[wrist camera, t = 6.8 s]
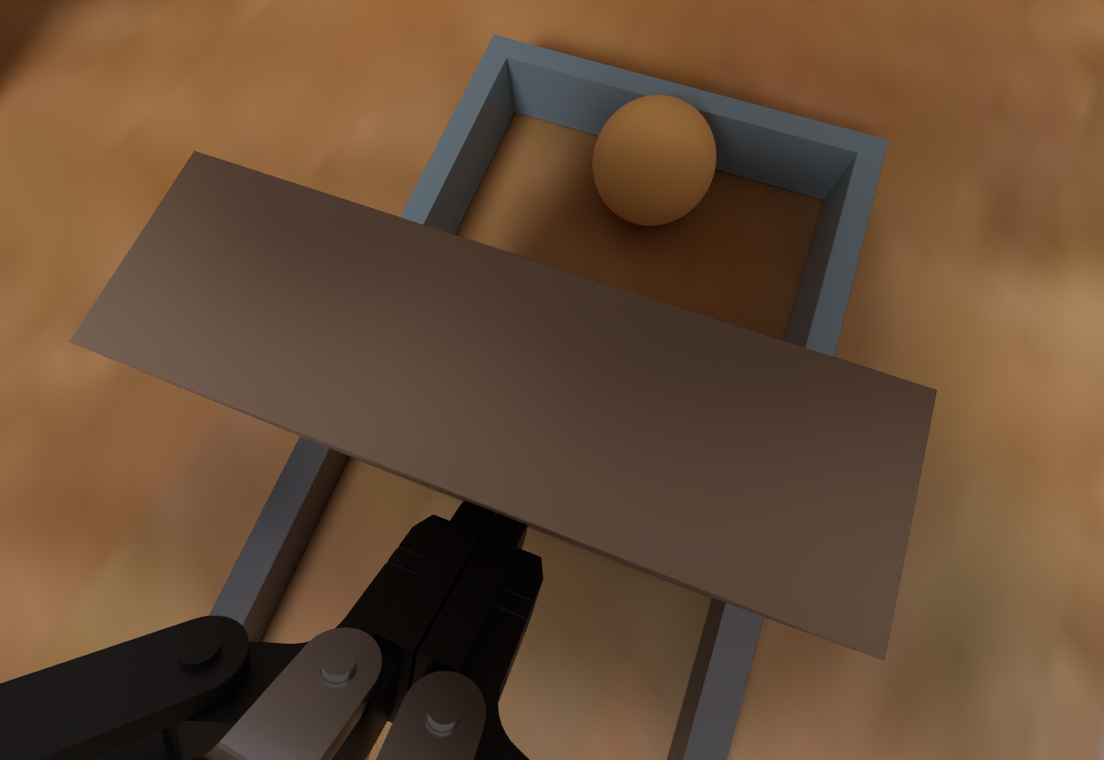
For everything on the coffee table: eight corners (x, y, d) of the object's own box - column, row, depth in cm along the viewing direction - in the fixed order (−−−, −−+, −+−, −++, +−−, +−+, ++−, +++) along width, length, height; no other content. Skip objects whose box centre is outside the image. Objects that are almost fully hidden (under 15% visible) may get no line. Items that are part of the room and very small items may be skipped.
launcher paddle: (681, 586, 16) (885, 660, 6) (373, 465, 17) (69, 342, 7) (710, 488, 17) (937, 389, 6) (413, 380, 18) (194, 151, 8)
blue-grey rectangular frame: (775, 470, 17) (808, 457, 15) (384, 331, 19) (357, 300, 17) (850, 188, 20) (888, 139, 18) (502, 90, 22) (494, 34, 19)
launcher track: (630, 1053, 13) (637, 1114, 12) (144, 802, 15) (100, 829, 14) (791, 438, 18) (810, 428, 16) (393, 301, 19) (378, 281, 18)
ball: (555, 199, 19) (591, 77, 18) (637, 230, 21) (673, 123, 21) (627, 213, 16) (675, 66, 15) (714, 248, 18) (760, 122, 17)
